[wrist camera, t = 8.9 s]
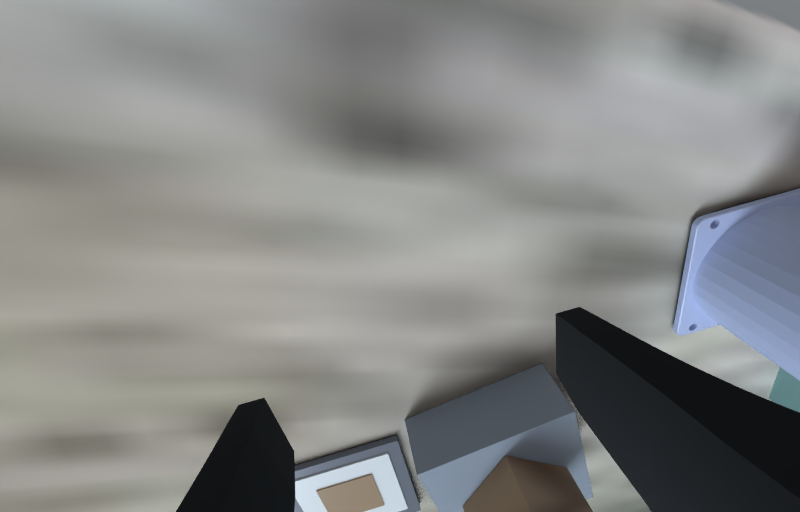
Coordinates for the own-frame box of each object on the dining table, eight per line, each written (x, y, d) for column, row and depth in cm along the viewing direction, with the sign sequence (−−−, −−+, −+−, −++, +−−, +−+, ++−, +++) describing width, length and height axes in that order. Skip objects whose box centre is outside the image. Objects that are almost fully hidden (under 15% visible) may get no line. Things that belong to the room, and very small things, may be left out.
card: (396, 435, 25) (398, 443, 24) (419, 504, 29) (421, 512, 28) (270, 472, 24) (269, 482, 24) (311, 537, 28) (311, 547, 28)
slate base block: (538, 359, 24) (575, 411, 21) (560, 442, 29) (593, 496, 25) (403, 414, 24) (417, 475, 21) (445, 488, 29) (462, 548, 25)
